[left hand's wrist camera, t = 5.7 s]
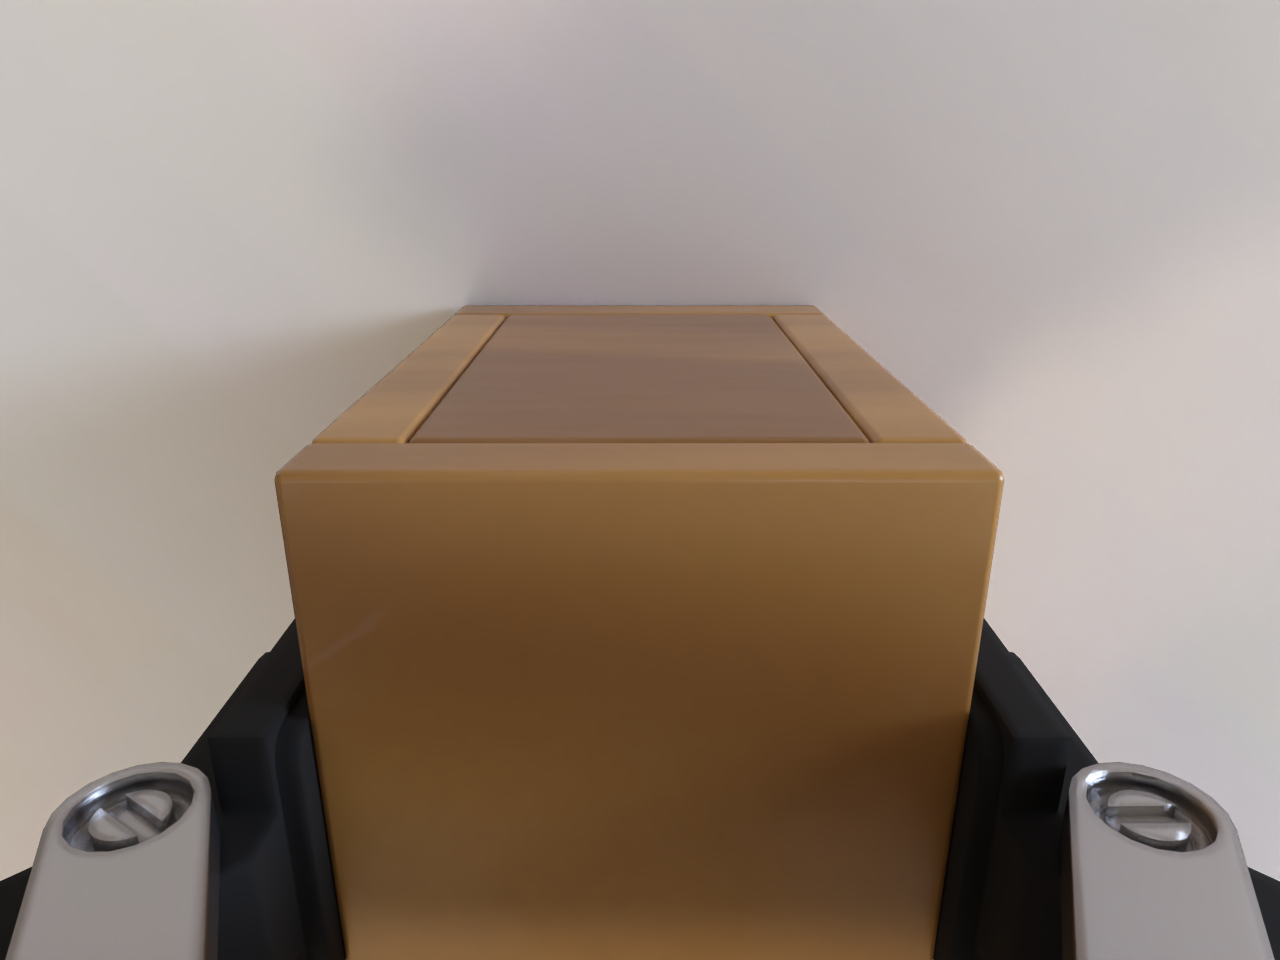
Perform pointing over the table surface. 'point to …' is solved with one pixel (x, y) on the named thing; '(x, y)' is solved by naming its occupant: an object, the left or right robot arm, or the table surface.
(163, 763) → the left robot arm
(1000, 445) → the table surface
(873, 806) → the cabinet
